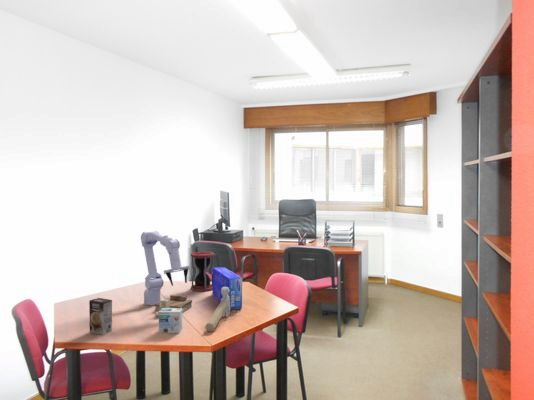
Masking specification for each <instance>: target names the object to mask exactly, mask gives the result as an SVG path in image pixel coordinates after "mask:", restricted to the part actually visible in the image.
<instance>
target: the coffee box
mask: <svg viewBox="0 0 534 400" xmlns="http://www.w3.org/2000/svg"><path fill="white" fill-rule="evenodd" d="M88 304H89V333H90V334H96V335H100V336H104V335H106V334H110V333H111V332H112V331H113V300H112V299H108V298H102V297H97V298H92V299H90V300H89V302H88Z"/></svg>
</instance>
